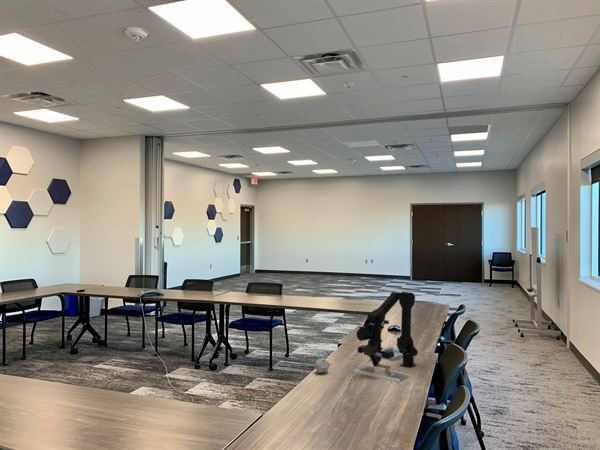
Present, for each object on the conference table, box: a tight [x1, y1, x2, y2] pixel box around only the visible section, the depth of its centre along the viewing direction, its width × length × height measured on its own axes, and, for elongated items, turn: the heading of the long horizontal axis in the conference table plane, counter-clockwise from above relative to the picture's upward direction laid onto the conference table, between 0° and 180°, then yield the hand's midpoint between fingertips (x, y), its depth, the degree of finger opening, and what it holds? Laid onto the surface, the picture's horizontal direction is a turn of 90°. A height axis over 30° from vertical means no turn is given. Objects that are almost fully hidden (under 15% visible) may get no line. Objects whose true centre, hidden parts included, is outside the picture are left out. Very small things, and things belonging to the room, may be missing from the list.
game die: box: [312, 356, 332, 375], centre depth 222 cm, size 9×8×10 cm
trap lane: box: [353, 364, 411, 384], centre depth 218 cm, size 11×26×2 cm, turn 48°
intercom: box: [381, 345, 403, 362], centre depth 248 cm, size 13×4×25 cm
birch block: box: [374, 363, 392, 377], centre depth 217 cm, size 6×6×4 cm
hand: (375, 368), depth 220 cm, fingers closed
